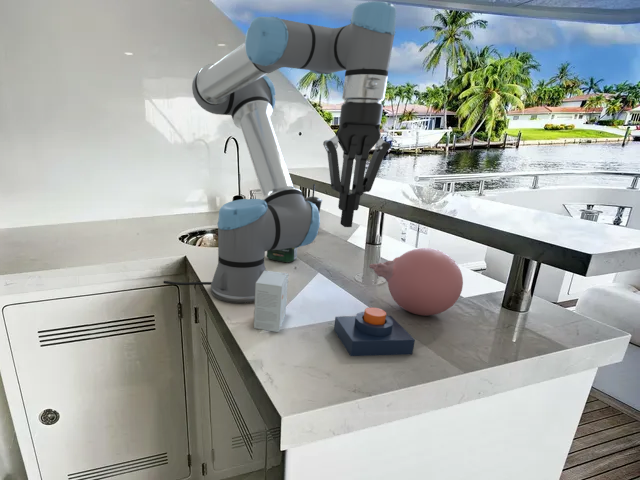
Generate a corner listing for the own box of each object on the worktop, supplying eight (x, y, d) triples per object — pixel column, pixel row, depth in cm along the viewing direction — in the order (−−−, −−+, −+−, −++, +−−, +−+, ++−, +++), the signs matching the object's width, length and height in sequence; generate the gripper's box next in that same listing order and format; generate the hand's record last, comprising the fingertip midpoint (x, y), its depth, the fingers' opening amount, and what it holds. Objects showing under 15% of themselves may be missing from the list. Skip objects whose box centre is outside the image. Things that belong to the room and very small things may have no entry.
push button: (350, 356, 71) (353, 332, 69) (333, 330, 80) (336, 308, 78) (412, 354, 72) (416, 331, 70) (388, 328, 81) (391, 307, 80)
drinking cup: (320, 234, 157) (325, 185, 150) (302, 233, 157) (306, 184, 150) (317, 229, 164) (321, 183, 158) (299, 229, 164) (303, 182, 158)
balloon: (370, 290, 101) (379, 234, 96) (455, 307, 92) (469, 246, 87) (357, 312, 89) (366, 249, 84) (454, 334, 80) (470, 265, 74)
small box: (261, 312, 87) (263, 269, 84) (285, 316, 86) (288, 272, 82) (252, 328, 80) (254, 282, 76) (278, 333, 78) (282, 286, 75)
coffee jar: (263, 259, 124) (265, 202, 118) (273, 253, 131) (276, 199, 124) (290, 264, 120) (295, 206, 113) (299, 258, 126) (304, 202, 120)
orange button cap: (368, 326, 72) (369, 316, 72) (360, 316, 76) (361, 307, 75) (388, 325, 73) (390, 316, 72) (379, 316, 76) (380, 307, 76)
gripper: (334, 99, 67) (320, 229, 75) (405, 102, 68) (383, 230, 76) (322, 102, 74) (310, 220, 82) (387, 104, 75) (368, 221, 83)
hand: (345, 225), depth 79 cm, fingers closed
